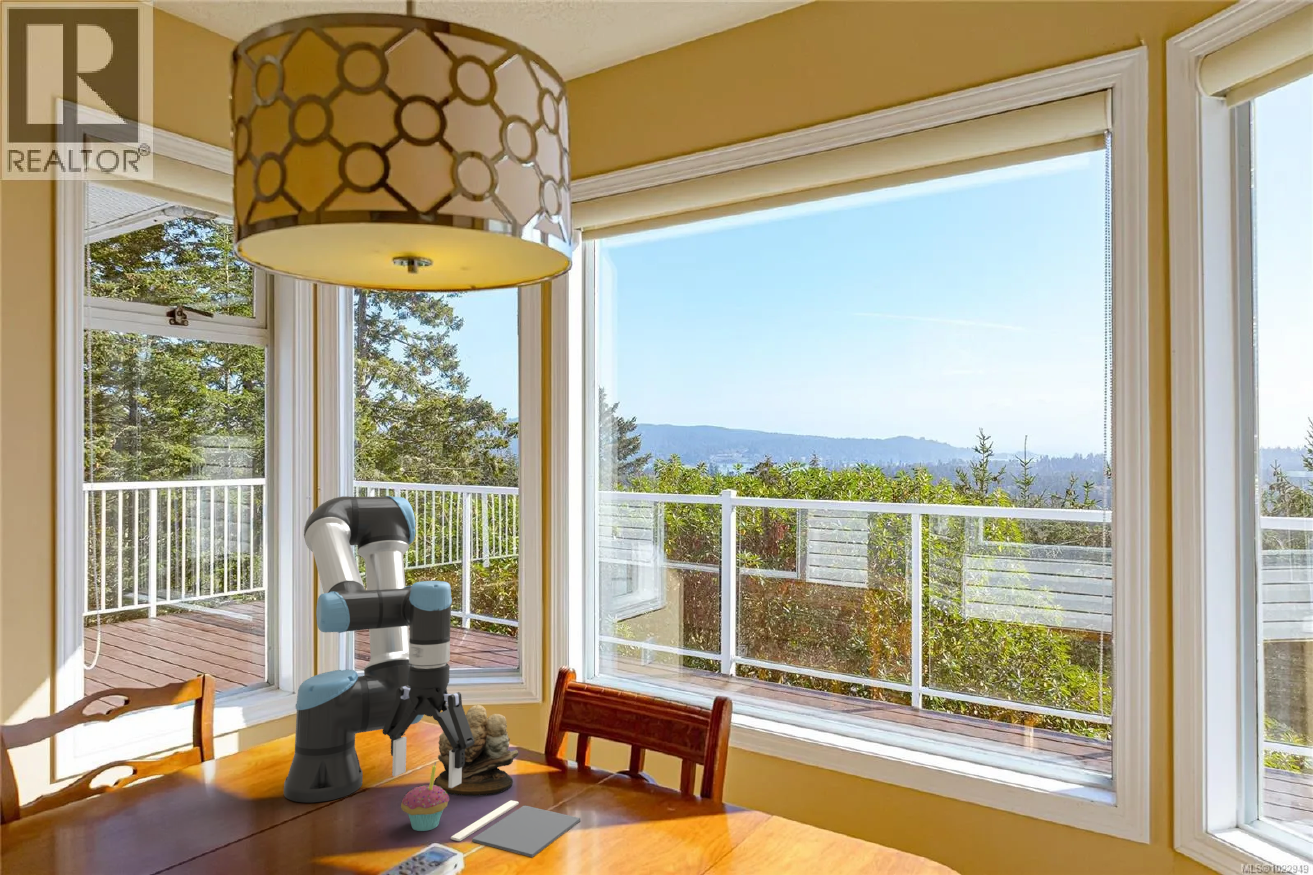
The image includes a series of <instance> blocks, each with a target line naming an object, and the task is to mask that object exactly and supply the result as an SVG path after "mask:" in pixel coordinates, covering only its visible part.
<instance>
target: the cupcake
mask: <svg viewBox="0 0 1313 875" xmlns="http://www.w3.org/2000/svg"><path fill="white" fill-rule="evenodd" d="M436 763H437V761H435V762H434V765H432V768H431V773H430V780H429V785H427V784H424V785H421V786H420V785H417V786H415V787H413V788H412V789H411V788H410V790H409V791H407V792H406V793H405V795H404V796H403V798H402V802H401V804H400V809H401V810H402V811H403V812H404V813H406V814H407V815H408V818H409V821H410V825H411V828H412V829H413V830H414V831H418V832H427V831H432V830H434V829H435V828H437V827H438V826H439V824H440V820H441V817H442V814H443V811H444V809H446V808H447V807H448V803H449V801H450V796H449V794H448V793H447V792H446V791H445V790H443V789H442V788H441V787H438V786H436V785H434V781H435V776H436V770H437V766H436Z"/></svg>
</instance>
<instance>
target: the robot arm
mask: <svg viewBox="0 0 1313 875" xmlns="http://www.w3.org/2000/svg"><path fill="white" fill-rule="evenodd" d="M415 517H416V516H415V514H414V510H413V507H412V505H411V503H410V501H409V500H408V499H406V497H401V496H391V495H385V496H344V495H343V496H338V497H334V498H331V499H329V500H326V501H325V502H323V503H322V504H320V505H319V506H318V507H316V508H315V509H314V510H313V511H312V512H311V514H310V515H309V516H308V518H307V520H306V522H305V526H304V527H303V528H304V529H303V537H304V541H305V545H306V548H308V550H309V551H310V552H312V553H313V557H314V560H315V564H316V569H317V573H318V577H319V579H320V583H321V588H322V592H323V593H321V594H320V595H319V596H318V598H317V603H316V626H317V628H318V630H319V632H322V633H338V634H341V633H346V632H354V631H355V632H357V631H365V630H369V631H368V632H369V634H368V636H369V650H370V660H369V662H368V663H367V664H366V665H365V666H364V668H363V674H364V675H362V676H361V675H359V674H358V673H357V671H356V670H355V669H350V668H349V669H337V670H335V669H334V670H331V671H325V672H322V673H318V674H316V675H313V676H310V677H309V678H307V679H305V680H304V681H303V682H302V683H301V684H300V685H299V686H298V689H297V695H296V696H297V698H296V703H295V709H296V713H295V714H296V716H295V717H296V718H295V720H296V722H295V737H294V738H295V742H294V754H293V758H292V761H291V764H290V767H289V771H288V774H287V776H286V778H285V780H284V783H283V796H284V798H286V799H288V800H289V801H293V802H298V803H321V802H327V801H332V800H333V801H334V800H336V799H340V798H344V797H347V796H349V795H351V794H353V793H355V792H357V791H358V790H359V789H361V787H362V785H363V777H364V776H363V770H362V768H361V764H360V760H359V757H358V754H357V750H356V734H361V733H367V732H373V731H378V730H379V731H380V730H382V734H383V735H384V736H386V735H387V736H388V737H389V739H390V756H391V757H392V772H391V773H392V777H398V776H399V775H401V774H404V773H406V769H407V768H406V767H407V765H406V764H407V736H405V735H406V731H408V729H409V727H410V726H411V725H414V724H418V723H419V722H420V721H421V720H422V719H423V718H424V716H427V717H432V718H433V719H434V720H435V721H436V722H438V724H439V726H440V728H441V730H442V733H443V732H444V734H445V735H446V737H447V739H448V741H449V742H450V744H451V746H452V748H453V749H452V750H450V751H449V788H453V787H455V786H457V785H459V784H461V783H462V767H463V766H464V764H465V749H466V748H467V747H470V746H472V745H474V743H475V741H474V738H473V735H472V732H471V729H470V727H469V724H468V721H467V718H466V713H465V710H464V707H463V703H462V702H463V701H462V693H461V692H459V691H458V692H456V693H449V692H448V689H447V688H448V685H449V683H450V670H451V668H450V665H449V664H448V663H449V662H450V660H451V624H452V623H451V622H452V621H451V619H452V616H451V615H452V602H453V598H452V589H451V584H450V583H449V582H447V581H442V580H425V581H417V582H414V583H413V584H411V585H407V586H406V578H405V565H404V563H405V562H404V555H405V554H406V552H407V551H408V550H409V549H410V544H412V543H413V542H414V541H415V538H416V518H415ZM351 546H357V554H358V556H360V557H361V558H362V559H364V561H365V562H364V565H365V579H366V580H365V581H366V588H365V585H364V582H363V579H362V576H361V573H360V571H359V568H358V564H357V561H356V558H355V556H354V553H353V550H352V547H351ZM457 741H458V742H457Z"/></svg>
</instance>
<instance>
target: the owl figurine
mask: <svg viewBox="0 0 1313 875" xmlns="http://www.w3.org/2000/svg"><path fill="white" fill-rule="evenodd" d="M465 715H466V718H467V721H468V724H469V727H470V729H471V732H472V735H473V738H474V741H475V743H474V745H472V746H470V747H467V748H466V749H465V764H464V766H463V767H462V783H461V784H459V785H457V786H455V787H453V788H449V751H450V750H452V749H453V748H452V746H451V744H450V742H449V741H448V739H447V737H446V735H445V734H444V732H443V731H442V733H441V734H440V735H439V739H438V751H439V755H438V756H437V759H438V760H439V762H441V763H442V765H443V767H444V770H443V771H442V772H440V773H439V775H438V776H437V777H436V778H434V782H433V785H436V786H438V787H441V788H442V789H443V790H445V791H446V792H447V794H448V795H451V796H452V795H453V796H464V797H466V796H467V797H468V796H469V797H480V796H482V797H483V796H491V795H492V796H493V795H497V794H501V793H502V792H504V791H508V789H509V788H511V786H512V785H513V783H514V780H513V778H512V776H510V775H509V773H507V772H506V771H505V770H501V769H500V767H507V766H510V765H511V764H512V763H513V762H514V759H515V758H517V756H518V755H519V751H518V750H512V751H511V750H509V747H510V740H511V738H510V737H509V733H508V731H507V728H508V725H507V724H508V723H507V718H506V717H505V716H504V715H502V714H500V713H493V714H492V715H491V714H490V715H489V716H487V709H486V708H485V707H484V706H483V705H480V704H475V705H472V706H471V707H470V708H469V709H468V710H467V712H466V713H465ZM457 742H458V741H457Z"/></svg>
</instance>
